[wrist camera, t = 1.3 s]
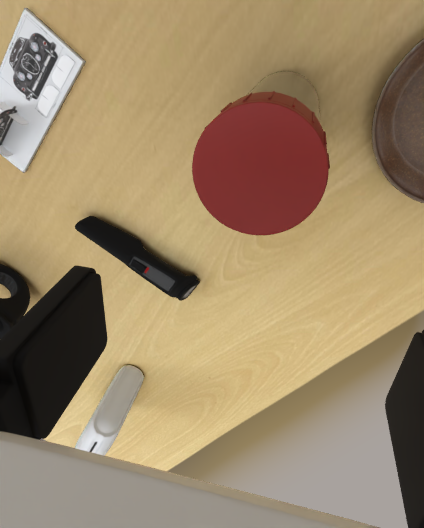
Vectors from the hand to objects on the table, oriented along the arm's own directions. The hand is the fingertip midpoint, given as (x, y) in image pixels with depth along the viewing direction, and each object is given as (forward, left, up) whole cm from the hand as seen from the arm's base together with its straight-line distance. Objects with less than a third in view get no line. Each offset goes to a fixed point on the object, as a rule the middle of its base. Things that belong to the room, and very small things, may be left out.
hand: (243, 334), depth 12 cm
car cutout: (+14, -23, -29) cm, 40 cm away
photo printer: (+45, +5, -29) cm, 54 cm away
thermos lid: (-1, -2, -14) cm, 14 cm away
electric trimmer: (+22, -4, -29) cm, 37 cm away
